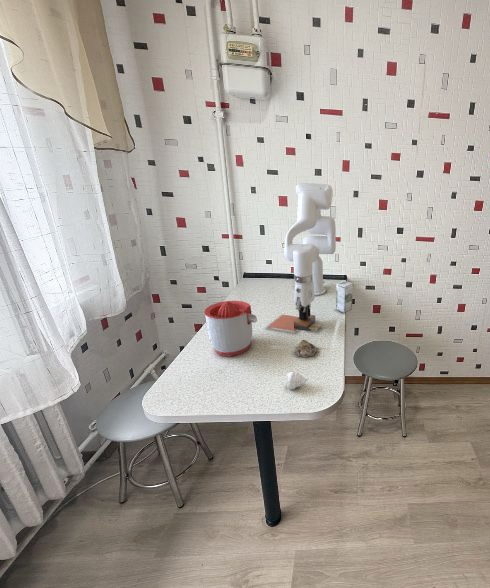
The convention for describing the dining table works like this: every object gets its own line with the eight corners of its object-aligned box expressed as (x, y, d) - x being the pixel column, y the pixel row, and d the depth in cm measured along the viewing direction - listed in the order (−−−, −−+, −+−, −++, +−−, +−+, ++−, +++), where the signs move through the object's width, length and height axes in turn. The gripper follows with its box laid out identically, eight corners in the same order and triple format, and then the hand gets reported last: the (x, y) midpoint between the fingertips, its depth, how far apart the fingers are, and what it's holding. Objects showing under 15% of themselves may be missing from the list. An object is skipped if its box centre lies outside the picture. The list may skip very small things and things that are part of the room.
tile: (282, 316, 155) (282, 314, 154) (308, 320, 152) (308, 318, 152) (267, 328, 143) (267, 326, 143) (295, 333, 140) (295, 331, 140)
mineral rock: (320, 351, 124) (299, 348, 121) (317, 361, 125) (296, 359, 122) (315, 338, 133) (295, 335, 130) (312, 348, 134) (293, 345, 131)
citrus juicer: (255, 359, 121) (250, 309, 114) (204, 361, 118) (196, 310, 111) (262, 338, 135) (258, 292, 128) (217, 339, 132) (210, 293, 125)
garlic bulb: (305, 392, 105) (305, 378, 103) (286, 392, 105) (285, 378, 103) (308, 381, 110) (307, 368, 108) (289, 381, 110) (289, 368, 108)
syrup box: (343, 306, 169) (343, 280, 163) (352, 310, 166) (352, 283, 160) (335, 310, 164) (335, 282, 159) (344, 313, 161) (345, 285, 156)
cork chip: (312, 326, 147) (312, 323, 146) (321, 328, 146) (320, 325, 145) (308, 330, 143) (308, 327, 143) (317, 332, 142) (317, 329, 142)
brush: (303, 319, 150) (302, 301, 147) (315, 321, 149) (315, 303, 146) (293, 328, 142) (292, 309, 139) (306, 330, 141) (306, 311, 138)
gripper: (302, 285, 129) (304, 327, 136) (319, 273, 144) (320, 311, 151) (285, 283, 131) (287, 324, 138) (304, 271, 146) (305, 309, 153)
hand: (304, 317), depth 144 cm, fingers closed on brush, 3 cm apart
